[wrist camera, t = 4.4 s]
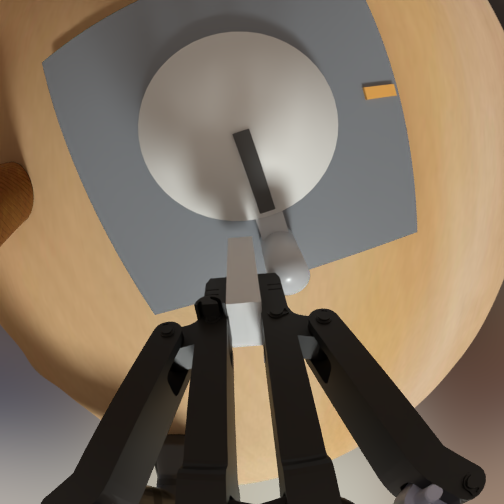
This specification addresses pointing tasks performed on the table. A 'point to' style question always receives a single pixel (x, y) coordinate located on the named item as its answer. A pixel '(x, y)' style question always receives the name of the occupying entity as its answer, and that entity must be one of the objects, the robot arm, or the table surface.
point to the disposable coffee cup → (13, 198)
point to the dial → (241, 136)
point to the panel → (209, 229)
